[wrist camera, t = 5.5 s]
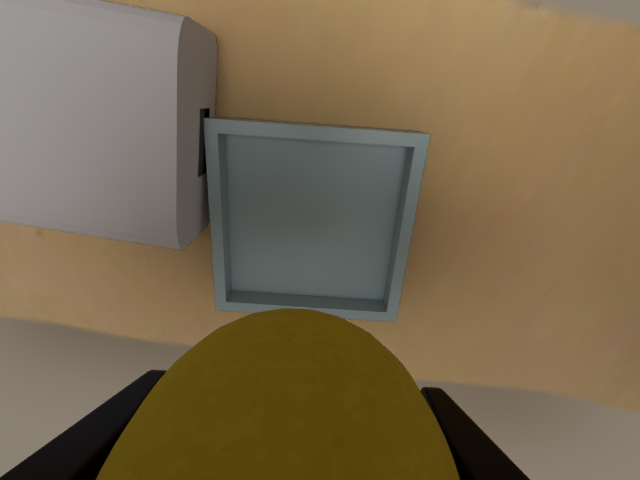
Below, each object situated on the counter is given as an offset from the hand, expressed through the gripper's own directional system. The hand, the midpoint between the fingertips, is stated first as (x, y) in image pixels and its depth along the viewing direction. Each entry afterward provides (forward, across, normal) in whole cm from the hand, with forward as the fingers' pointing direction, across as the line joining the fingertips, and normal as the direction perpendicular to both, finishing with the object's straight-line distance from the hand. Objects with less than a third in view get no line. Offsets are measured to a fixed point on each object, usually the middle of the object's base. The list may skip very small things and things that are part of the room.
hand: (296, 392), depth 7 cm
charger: (+12, +13, -5) cm, 18 cm away
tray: (+12, 0, 0) cm, 12 cm away
